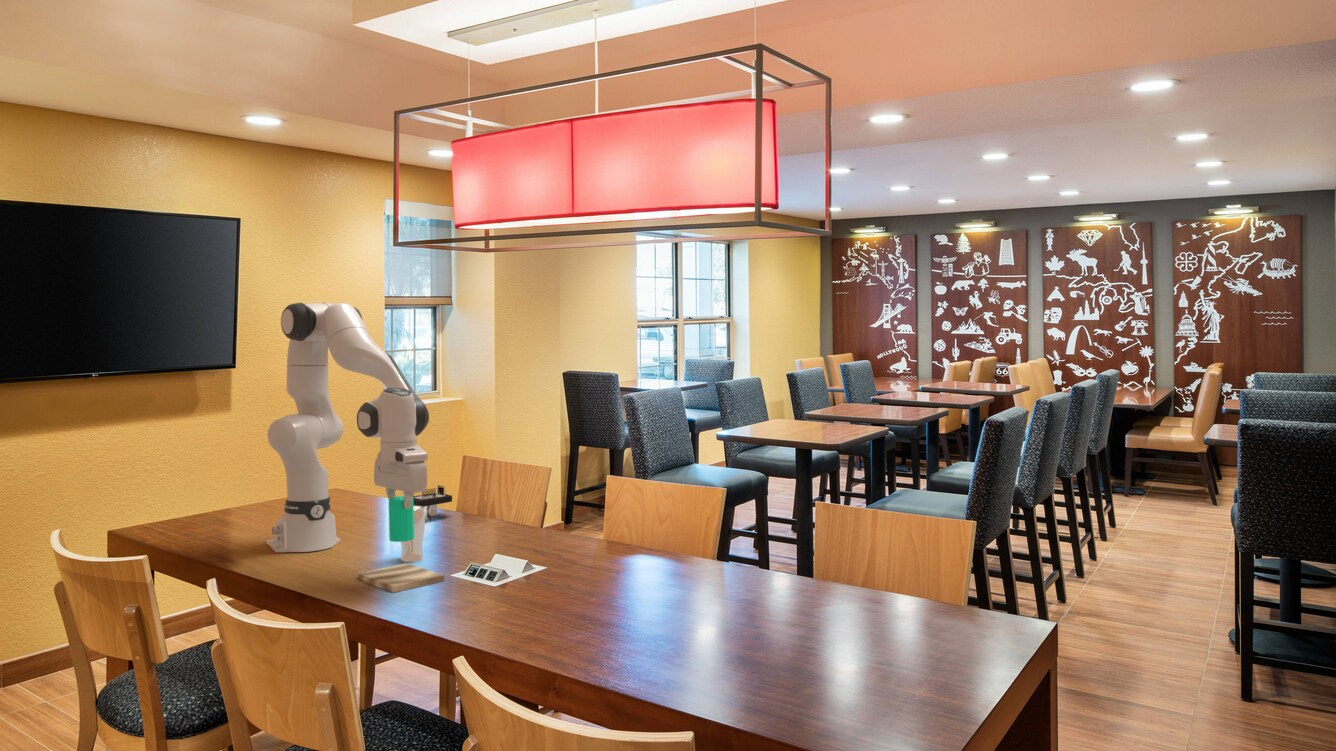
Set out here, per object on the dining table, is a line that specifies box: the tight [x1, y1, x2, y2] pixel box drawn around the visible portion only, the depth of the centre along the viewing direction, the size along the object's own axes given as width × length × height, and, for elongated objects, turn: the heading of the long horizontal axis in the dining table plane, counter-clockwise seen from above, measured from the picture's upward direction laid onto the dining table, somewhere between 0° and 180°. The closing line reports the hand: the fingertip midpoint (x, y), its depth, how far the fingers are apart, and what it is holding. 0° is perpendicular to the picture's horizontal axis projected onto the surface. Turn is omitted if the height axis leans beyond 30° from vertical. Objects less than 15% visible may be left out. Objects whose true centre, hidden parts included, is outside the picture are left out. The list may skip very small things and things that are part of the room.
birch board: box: [357, 562, 445, 594], centre depth 221 cm, size 18×14×2 cm
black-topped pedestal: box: [413, 484, 453, 521], centre depth 288 cm, size 28×26×13 cm
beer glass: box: [400, 506, 426, 563], centre depth 240 cm, size 7×7×15 cm
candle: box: [388, 495, 414, 543], centre depth 221 cm, size 6×6×12 cm
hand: (399, 506), depth 221 cm, fingers closed on candle, 5 cm apart
